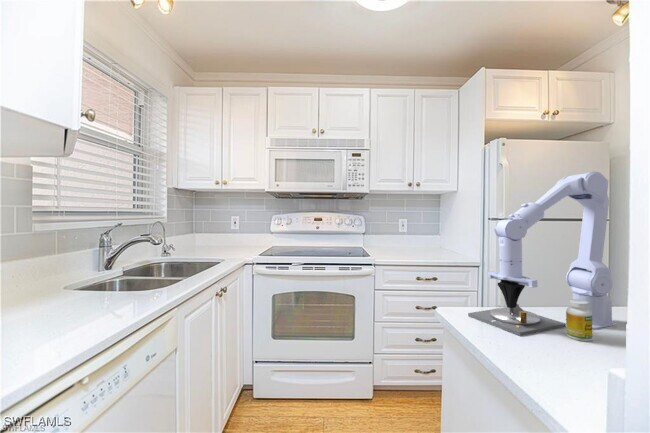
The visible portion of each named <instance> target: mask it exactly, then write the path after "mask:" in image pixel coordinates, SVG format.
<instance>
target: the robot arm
mask: <svg viewBox="0 0 650 433" xmlns="http://www.w3.org/2000/svg"><path fill="white" fill-rule="evenodd" d="M608 189H609V179H607V178H606V176H605V175H604V174H602V173H601V172H599V171H594V170H593V171H589V172H585V173H578V174H569V175H565V176H564V177H562V178H561V179H559V180H557V181H556V183H555V184H554V186H552V187H551V188H550V189H549V190H548V191H547V192H546V193H545V194H543V195H542V196H540V198H538V200H536V201H535V202H527V203H522V204H521V205H520V208H519V209H518V210H516V211H515V212H514V213H510V214H509V215H508V216H507V219H501V220H500V221H498V222H497V224H496V225H495V226H496V227H495V228H494V234H495V236H496V237H497V238H498V244H499V245H498V251H499V252H498V254H499V260H498V262H499V272H498V271H488V272H487V279H493V280H498V282H497V286H498V288H499V290H501V293H502V296H503V298H504V301H505V304H506V307H509V308H515V307H516V305H517V304H518V300H519V297H520V296H521V293H522V291H523V290H524V289H525V287H528V288H532V289H533V288H538V279H534V278H530V277H526V276H525V275H523V242H522V241H523V239H524V238H525V237H526V235H527V233H528V230H529V229H530V228H532V227H533V226H534V225H535V224H537V223H538V222H539V221H541V220H543V218H544V217H545V211H547V210H548V209H550V208H551V207H553V206H554V205H556V204H557V203H558V202H560V201H561V200H563V199H565V198H566V197H569V198H571V199H572V200H574V201H576V202H578V203H580V205H581V206H582V207H583V212H582V213H583V214H582V221H581V230H580V239H579V246H578V254H577V259H576V260H573V261H572V262H571V263H570V264H569V265H570V266H569V269H568V271H567V273H566V276H565V281H566V283H567V285H568V286H569V287H570V290H571V291H572V299H576V300H583V301H587V302H588V303H589V307H588V308H587V309H588V310H590V311H591V312H592V330H593V329H595V330H597V329H602V328H606V327H610V326H615V325H616V324H617V323H616V322H614V321H613V308H612V307H613V303H612V300H611V298H610V297H609V295H608V294H609V293H610V292H611V290H612V288H613V281H612V278H611V269H610V268H609V267H608V266H607V265H606V264H605V263H604V262H603V257H604V256H603V255H604V248H605V239H606V231H607V222H608V214H609V213H608V212H609V207H610V206H609V204H610V200H609V194H608ZM499 281H500V282H499Z"/></svg>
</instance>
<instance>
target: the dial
mask: <svg viewBox="0 0 650 433" xmlns="http://www.w3.org/2000/svg"><path fill="white" fill-rule="evenodd" d="M490 310H491V309H490ZM538 315H539V314H536V312H535V313H534V312H531V311H529V310H524V309H522V308H521V306H520V305H519V303H517V305H516V307H515V308H504V307H498V308H492V310H491V311H490V316H491V317H492V318H494V319H496V320H498V321H501V322H505V323H510V324H516V325H535V324H538V323H540V317H539V316H540V315H539V316H538Z"/></svg>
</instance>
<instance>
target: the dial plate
mask: <svg viewBox="0 0 650 433" xmlns="http://www.w3.org/2000/svg"><path fill="white" fill-rule="evenodd" d="M503 308H509V307H507V306H505V307H503ZM492 309H493V308H492ZM492 309H485V310H481V311H480V310H479V311H472V312H468V314H467V315H468V317H470V318H472V319H474V320H478V321H479V322H482V323H485V324H488V325H490V326H493V327H495V328H498V329H500V330H503V331H506V332H508V333H511V334H513V335H516V336H519V337H523V336H528V335H533V334H537V333H543V332H547V331H548V332H549V331H552V330H557V329H562V328H566V322H562V321H559V320H555V319H552V318H549V317H546V316H543V315H539V314H537V315H538V316H539V317H540V323H538V324H535V325H516V324H510V323H505V322H501V321H498V320H496V319H494V318H492V317H491V316H490V311H491V310H492Z"/></svg>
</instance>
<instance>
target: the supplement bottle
mask: <svg viewBox="0 0 650 433" xmlns="http://www.w3.org/2000/svg"><path fill="white" fill-rule="evenodd" d="M568 305H569V307H567V308H566V310H565V318H566V319H565V321H566V322H565V323H566V327H565V328H566V329H565V330H566V331H565V332H566V336H567V337H568V338H569V339H572V340H576V341H578V342H592V340H593V337H594V336H593V328H592V312H591V311H590V310H588V309H587V308H588V307H589V303H588V302H587V301H583V300H576V299H573V298H572V299H569V301H568Z"/></svg>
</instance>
